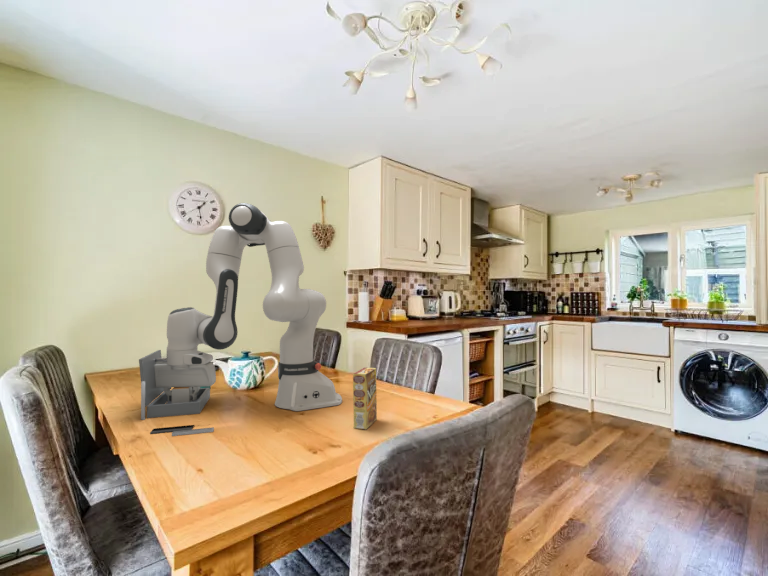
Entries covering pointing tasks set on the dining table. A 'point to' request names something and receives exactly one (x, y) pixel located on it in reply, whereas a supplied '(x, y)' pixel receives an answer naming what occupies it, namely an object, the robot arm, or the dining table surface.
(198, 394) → the case
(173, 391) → the block
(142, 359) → the lid
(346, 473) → the dining table surface
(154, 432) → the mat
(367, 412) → the candy box
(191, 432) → the rod
